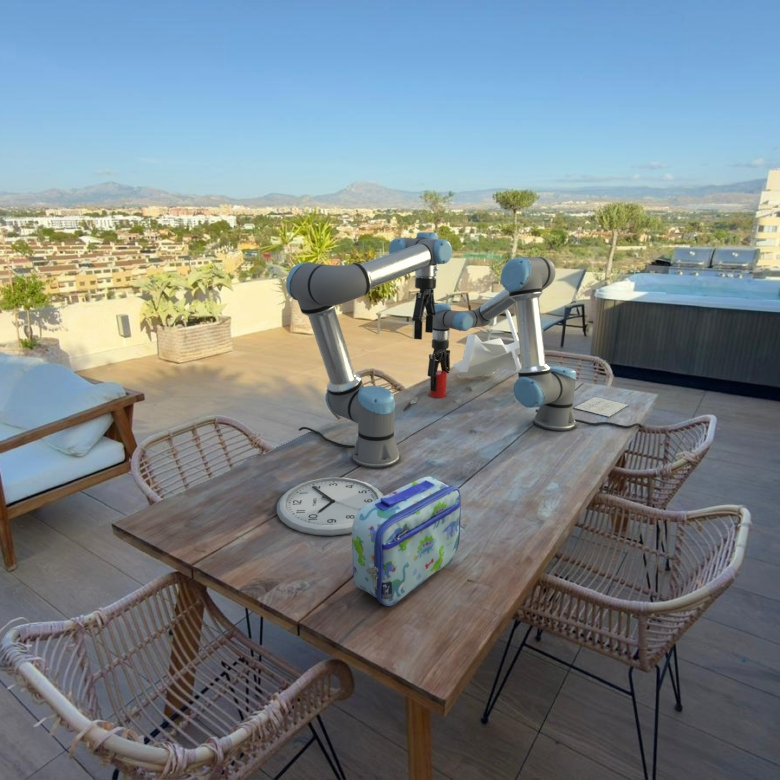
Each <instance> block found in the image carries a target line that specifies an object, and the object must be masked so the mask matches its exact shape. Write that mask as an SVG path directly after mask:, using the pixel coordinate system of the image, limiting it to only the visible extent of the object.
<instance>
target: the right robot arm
mask: <svg viewBox="0 0 780 780" xmlns="http://www.w3.org/2000/svg"><path fill="white" fill-rule="evenodd" d="M556 272H557V271H556V267H555V265H554V263H553V262H552V260H550V259H548V258H547V257H545V256H519V257H514V258H512V259H509V260H508V261H507V262H506V263H505V264H504V266H503V267H502V270H501V272H500V273H501V274H500V282H501V286H502V287H503V288H504V289H503V290H502V291H499V293H497V294H496V295H495V296H493V297H491V298H490V299H489V300H487V301H486V302H484V303H483V304H482V305H480V306H479V307H477V308H476V309H470V310H469V309H468V310H461V311H457V310H452V307H451V304H449V303H435V313H436V315H433V333H431V338H432V339H431V349H433V350H432V353H431V354H428V367H427V377H429V378H430V383H431V386H429V392H430V391H434V392H436V386H437V377H436V373H437V371H438V369H439V366H440V368H441V370H440V371H445V372H447V375H449V373H450V371H451V358H450V357H451V355H450V354H451V350H449V346H450V329H452V330H456V331H459V332H468V331H469V330H470V329H472V328H483V327H486V326H489V325H491V324H492V323H493V320H494V319H496V318H497V317H498V316H500V315H502V314H503V313H505V311H506V310H509V309H511V308H513V307H514V308H515V309H514V310H515V319H516V328H517V336H518V339H519V347H520V354H519V356H520V365H521V368H520V370H519V371H517V375H518V379H516V380H515V382H514V384H513V388H512V389H513V394H514V397H515V399H516V400H517V402H518V403H520V404H521V405H522V406H523V407H526V408H538V409H535V416H534V424H535V425H536V426H537V427H539V428H542V429H544V430H549V431H556V432H567V431H572V430H574V429H575V428H576V423H580V424H584V425H588V426H601V425H607V426H608V425H609V426H614V427H617V428H621V429H632V428H634V427H639V428H642V429H643V428H644V426H643V424H641V423H639V422H635V423H633V424H630V425H624V424H618V423H614V422H610V421H599V422H590V421H587V420H582V419H576V418H575V417H576V416H575V413H574V407H573V405H574V398H575V391H576V383H577V372H576V371H575V369H573V368H571V367H570V368H569V367H566V366H561V365H548V364H547V361H546V354H545V344H544V336H543V335H544V334H543V325H542V315H541V306H540V305H541V304H540V297H541V295H542V294H543V293H544V292H543V291H544V290H545V289H547V288H548V287H550V286H551V285H552V284H553V282H554V280H555V278H556Z"/></svg>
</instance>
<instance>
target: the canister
mask: <svg viewBox="0 0 780 780" xmlns="http://www.w3.org/2000/svg"><path fill="white" fill-rule="evenodd" d="M436 377H437V386H436V392H434V391H430V390H429V396H430V397H431V398H434V399H443V398H446V396H447V382H448V381H447V378H448V373H447V372H445V371H442V370H437V373H436ZM430 386H431V383H430ZM430 386H429V387H430Z"/></svg>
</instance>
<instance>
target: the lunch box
mask: <svg viewBox="0 0 780 780" xmlns="http://www.w3.org/2000/svg"><path fill="white" fill-rule="evenodd" d="M461 499H462V497H461V491H460V489H459V488H458V487H457V486H455V485H450V486H449V485H447V484H445V483H444V482H442V481H440V480H438V479H436V478H434V477H432V476H424V477H421V478H419V479H416V480H414V481H412V482H410V483H407V484H405V485H404V486H401V487H399V488H397V489H395V490H392V491H391V492H390V493H386V494H384V496H383V497H381V498H379V499H377V500H375V501H373V502H371V503H369V504H367V505H365V506H364V507H362V508H361V509H360V510H359V512H358V513H357V515H356V516H355V518H354V521H353V526H352V533H351V550H352V576H353V581H354V584H355V587H356V588H358V589H360V590H362V591H364V592H366V593H368V594H370V596H372V597H374V598H375V599H377V601H378V603H379V604H382V605H383V606H385V607H393V606H394V605H396V604H397V603H399V602H400V601H402V599H404V598H405V597H406V596H407V595H409V594H410V593H411V592H413V591H414V590H415V589H416V588H418V587H419V586H420V585H422V584H423V583H424V582H425V581H427V580H428V579H429V578H430V577H432V575H434V574H435V573H437V572H439V571H441V570H442V569H443V568H445V567H446V566H448V565H449V564H450V562H452V560H453V559H454V557H455V555H456V553H457V551H458V549H459V544H460V537H461V519H462V515H461V513H462V512H461V510H462V507H461V505H462V504H461V503H462V502H461Z"/></svg>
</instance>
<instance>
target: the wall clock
mask: <svg viewBox="0 0 780 780" xmlns="http://www.w3.org/2000/svg"><path fill="white" fill-rule="evenodd" d="M383 496H385V494H384V493H383V492H382V491H381V490H380V489H379V488H377V487H376V486H374V485H372V484H371V483H369V482H365V481H362V480H359V479H355V478H349V477H338V476H337V477H335V476H333V477H332V476H331V477H322V478H317V479H312V480H307V481H305V482H302V483H299V484H297V485H295V486H293V487H292V488H290V489H288V490H287V491H286V492H285V493H284V494H283V495H281V496H280V498H279V499H278V502H277V503H276V515H277V517H278V518H279V520H280V521H281V522H282V523H283V524H285V525H286V526H287V527H288V528H290V529H293V530H295V531H297V532H299V533H303V534H308V535H312V536H327V537H328V536H329V537H331V536H332V537H333V536H342V535H350V534H352V526H353V521H354V518H355V516H356V515H357V513H358V512H359V510H360V509H361V508H362V507H364V506H365V505H367V504H369V503H371V502H373V501H375V500H377V499H379V498H381V497H383Z"/></svg>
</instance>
